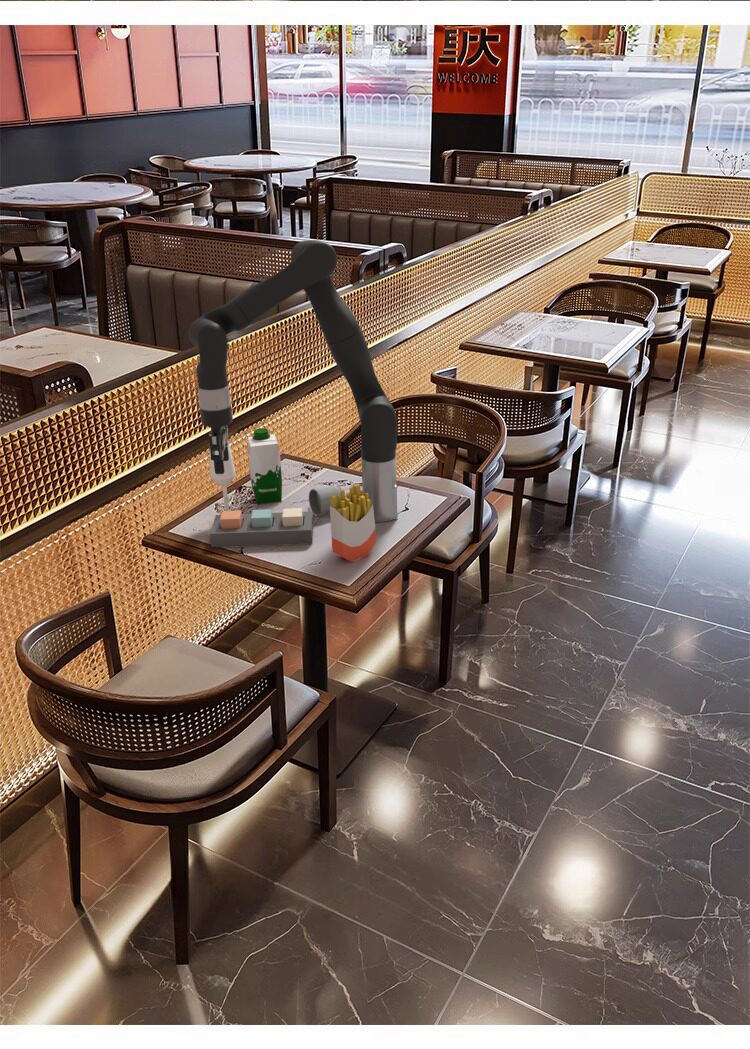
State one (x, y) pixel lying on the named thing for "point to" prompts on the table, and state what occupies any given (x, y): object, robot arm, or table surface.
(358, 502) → the french fries container
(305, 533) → the grey long flat block
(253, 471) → the milk carton
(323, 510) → the ceramic mug
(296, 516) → the sand key
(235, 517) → the terracotta key
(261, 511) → the teal key
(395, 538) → the table surface
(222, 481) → the champagne flute
